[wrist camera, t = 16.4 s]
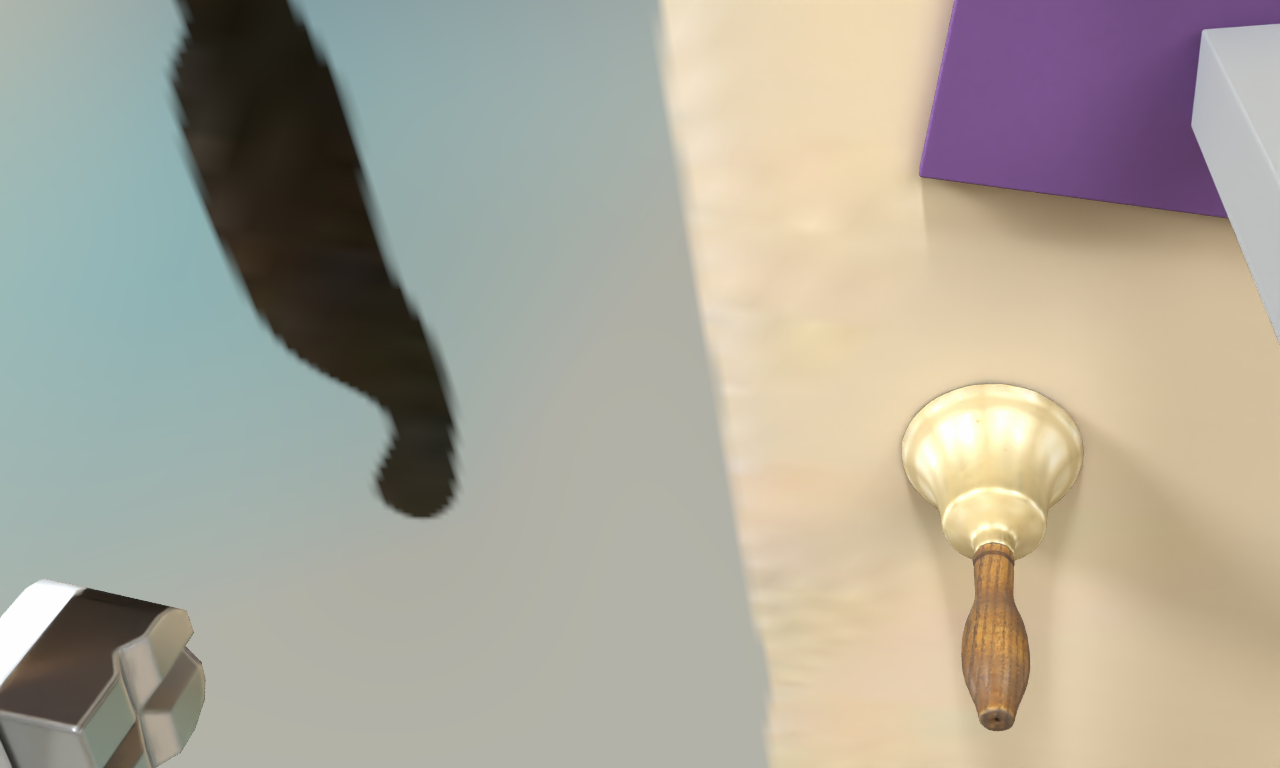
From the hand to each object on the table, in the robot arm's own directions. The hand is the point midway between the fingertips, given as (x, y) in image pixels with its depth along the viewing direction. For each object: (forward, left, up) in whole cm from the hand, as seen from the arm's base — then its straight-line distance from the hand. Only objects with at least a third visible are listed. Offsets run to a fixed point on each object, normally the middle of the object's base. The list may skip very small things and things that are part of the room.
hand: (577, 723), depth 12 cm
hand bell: (+26, +11, -39) cm, 48 cm away
